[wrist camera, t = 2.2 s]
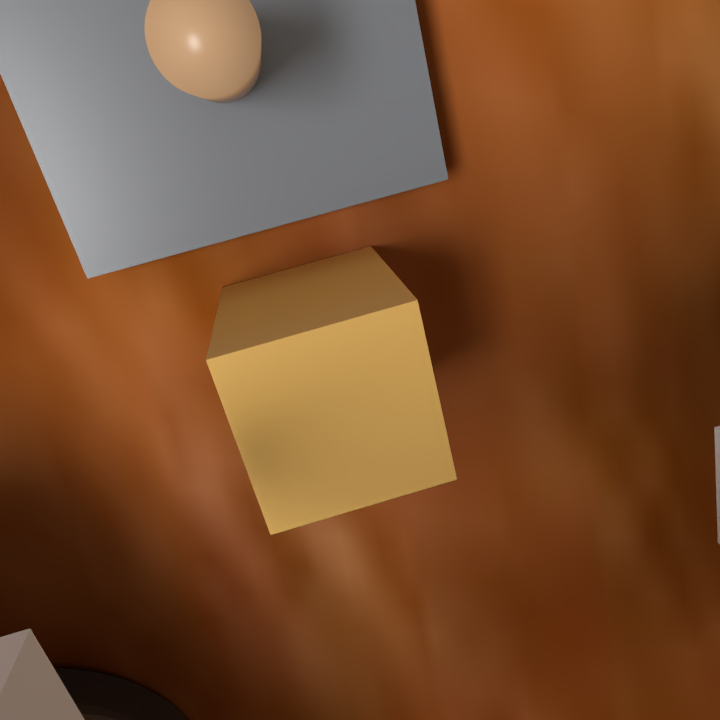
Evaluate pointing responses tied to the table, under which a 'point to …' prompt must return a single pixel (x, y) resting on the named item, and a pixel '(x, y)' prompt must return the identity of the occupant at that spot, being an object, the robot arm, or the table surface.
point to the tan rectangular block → (329, 388)
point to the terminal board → (216, 115)
